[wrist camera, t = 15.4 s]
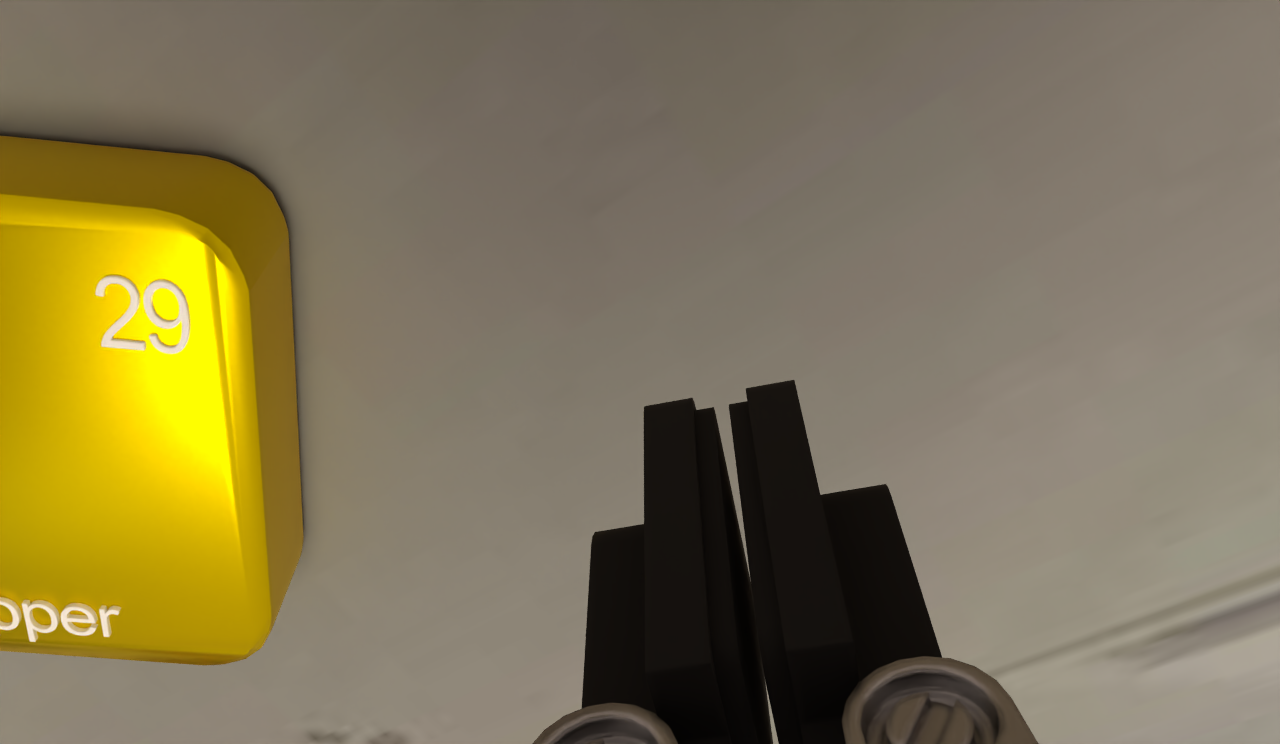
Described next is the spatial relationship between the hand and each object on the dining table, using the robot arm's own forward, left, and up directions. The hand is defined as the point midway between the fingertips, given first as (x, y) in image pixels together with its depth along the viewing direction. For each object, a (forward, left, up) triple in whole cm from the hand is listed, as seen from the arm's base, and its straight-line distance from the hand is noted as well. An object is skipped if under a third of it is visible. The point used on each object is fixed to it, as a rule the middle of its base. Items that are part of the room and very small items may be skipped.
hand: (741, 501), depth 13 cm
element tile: (+5, -20, -20) cm, 29 cm away
